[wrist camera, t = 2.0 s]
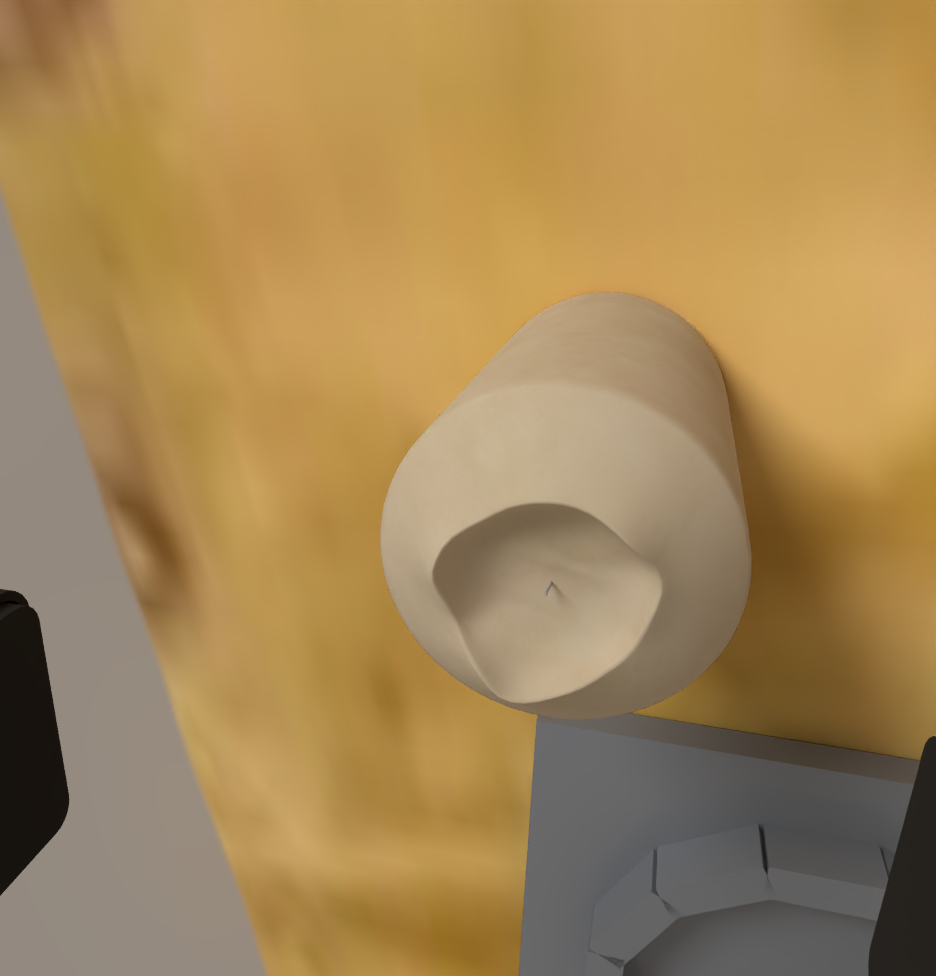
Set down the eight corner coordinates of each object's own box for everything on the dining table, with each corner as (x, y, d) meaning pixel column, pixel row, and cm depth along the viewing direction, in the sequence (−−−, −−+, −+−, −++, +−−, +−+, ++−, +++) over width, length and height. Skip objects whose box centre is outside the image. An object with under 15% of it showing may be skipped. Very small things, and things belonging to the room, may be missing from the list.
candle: (660, 548, 21) (641, 842, 12) (460, 457, 22) (299, 677, 13) (772, 348, 19) (847, 529, 10) (545, 250, 19) (422, 339, 10)
